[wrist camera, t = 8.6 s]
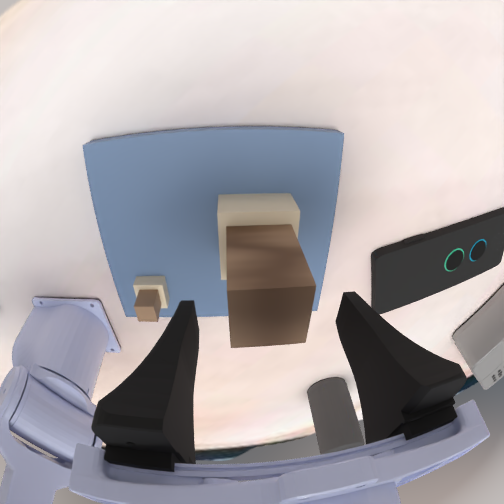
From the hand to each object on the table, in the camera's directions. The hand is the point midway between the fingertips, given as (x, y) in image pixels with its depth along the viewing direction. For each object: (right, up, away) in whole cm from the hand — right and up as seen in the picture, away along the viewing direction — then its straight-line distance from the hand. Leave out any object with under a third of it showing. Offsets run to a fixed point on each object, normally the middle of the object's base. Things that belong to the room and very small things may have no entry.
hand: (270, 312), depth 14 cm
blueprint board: (-4, +5, +9) cm, 11 cm away
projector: (+43, -10, +23) cm, 49 cm away
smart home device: (+21, +3, +13) cm, 25 cm away
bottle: (+10, -17, +24) cm, 31 cm away
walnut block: (0, +3, +5) cm, 6 cm away
